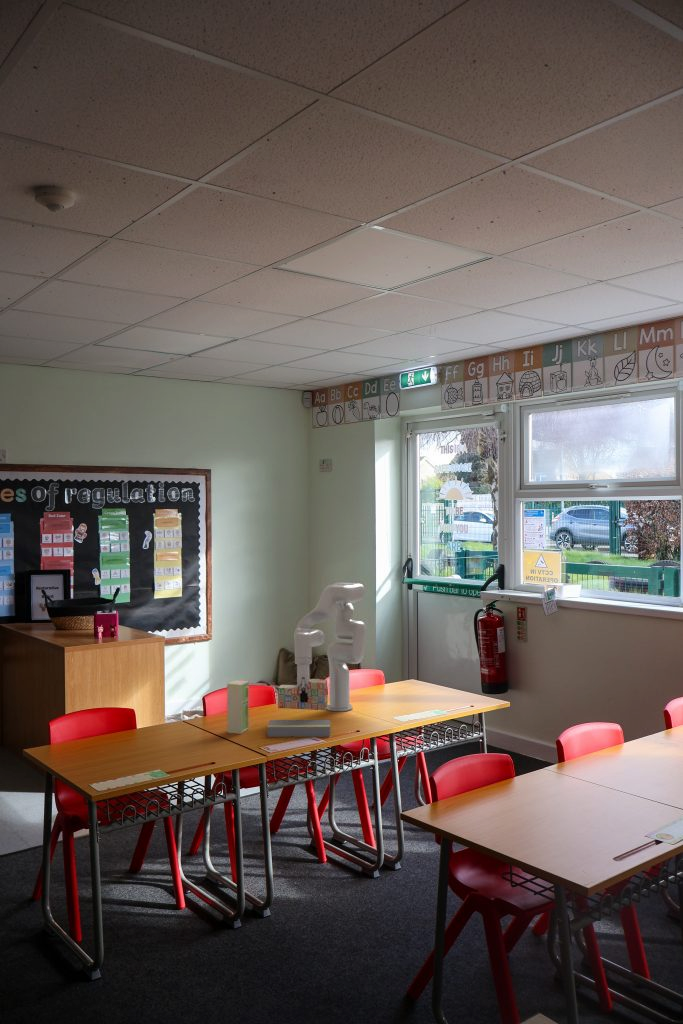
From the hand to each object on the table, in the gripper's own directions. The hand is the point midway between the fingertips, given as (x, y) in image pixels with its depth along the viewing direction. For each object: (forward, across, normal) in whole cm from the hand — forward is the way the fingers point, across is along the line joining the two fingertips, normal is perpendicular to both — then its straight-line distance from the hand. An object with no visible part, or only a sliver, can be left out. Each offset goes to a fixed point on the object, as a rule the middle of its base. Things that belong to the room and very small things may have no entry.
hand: (304, 699), depth 379 cm
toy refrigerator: (+10, +14, -28) cm, 32 cm away
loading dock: (+10, +17, -2) cm, 20 cm away
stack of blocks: (+4, 0, -1) cm, 4 cm away
